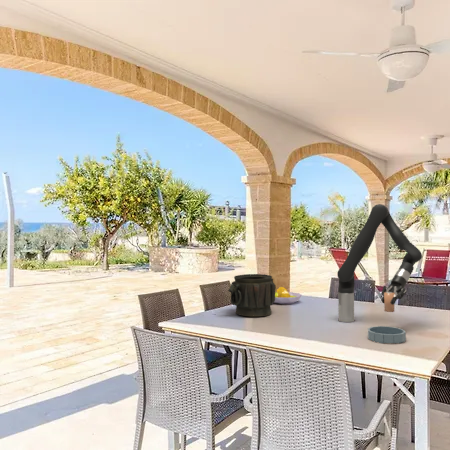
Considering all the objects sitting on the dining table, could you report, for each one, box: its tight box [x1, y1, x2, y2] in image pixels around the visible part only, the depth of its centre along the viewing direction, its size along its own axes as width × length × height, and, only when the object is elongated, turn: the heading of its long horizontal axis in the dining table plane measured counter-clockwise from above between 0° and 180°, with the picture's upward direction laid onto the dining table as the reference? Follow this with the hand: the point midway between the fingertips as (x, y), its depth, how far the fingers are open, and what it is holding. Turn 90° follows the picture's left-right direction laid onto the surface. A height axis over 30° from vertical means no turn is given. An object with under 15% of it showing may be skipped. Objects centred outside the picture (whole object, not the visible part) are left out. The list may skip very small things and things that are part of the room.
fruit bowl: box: [273, 286, 302, 305], centre depth 340 cm, size 28×27×11 cm
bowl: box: [367, 325, 407, 344], centre depth 233 cm, size 18×18×4 cm
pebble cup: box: [383, 292, 396, 313], centre depth 247 cm, size 5×5×10 cm
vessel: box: [227, 273, 277, 317], centre depth 300 cm, size 31×32×25 cm
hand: (387, 302), depth 246 cm, fingers closed on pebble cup, 5 cm apart
